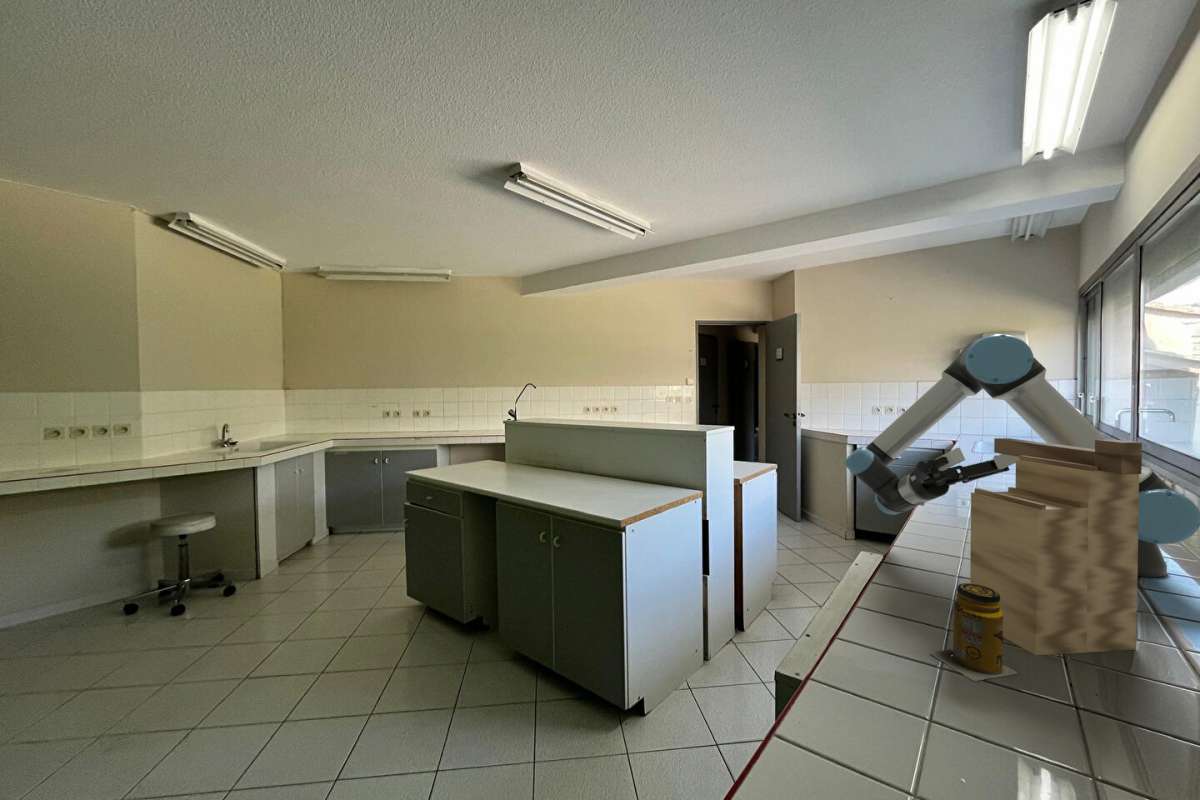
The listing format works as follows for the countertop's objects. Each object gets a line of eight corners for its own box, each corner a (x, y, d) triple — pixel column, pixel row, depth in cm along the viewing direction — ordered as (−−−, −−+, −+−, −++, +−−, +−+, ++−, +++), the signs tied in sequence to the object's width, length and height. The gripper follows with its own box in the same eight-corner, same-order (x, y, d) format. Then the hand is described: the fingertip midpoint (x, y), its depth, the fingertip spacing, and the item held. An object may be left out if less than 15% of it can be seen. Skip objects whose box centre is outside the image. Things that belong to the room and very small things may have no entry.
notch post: (1057, 613, 87) (1059, 454, 86) (1136, 649, 75) (1139, 465, 74) (970, 618, 85) (971, 456, 85) (1035, 655, 73) (1037, 467, 73)
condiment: (1018, 673, 69) (1019, 596, 69) (974, 682, 67) (975, 603, 67) (969, 647, 76) (970, 577, 76) (929, 654, 74) (929, 582, 74)
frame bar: (1008, 452, 94) (1009, 428, 94) (1141, 474, 70) (1141, 442, 70) (994, 452, 95) (994, 428, 94) (1121, 474, 71) (1121, 442, 70)
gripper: (977, 498, 112) (1057, 468, 93) (881, 501, 110) (942, 471, 92) (964, 469, 115) (1038, 435, 97) (870, 472, 114) (927, 438, 95)
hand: (991, 452), depth 94 cm, fingers open, 13 cm apart
